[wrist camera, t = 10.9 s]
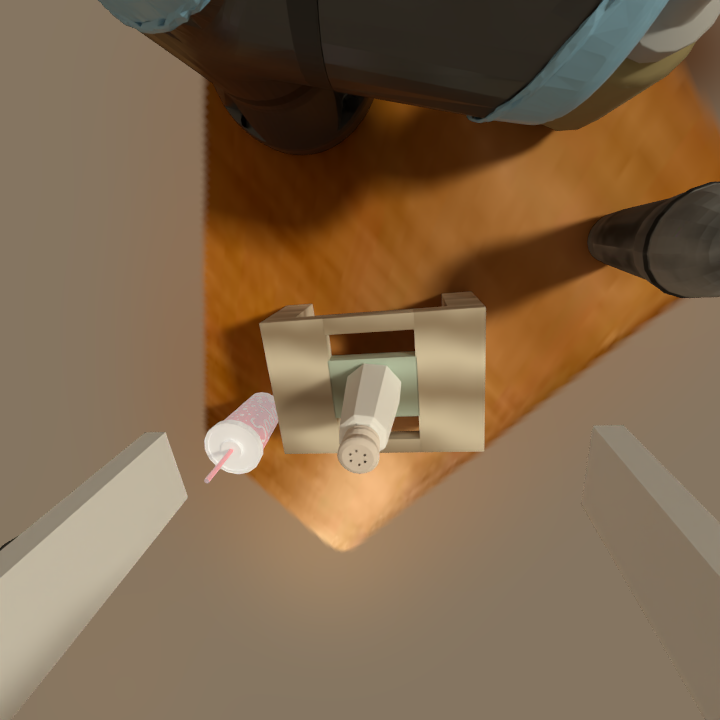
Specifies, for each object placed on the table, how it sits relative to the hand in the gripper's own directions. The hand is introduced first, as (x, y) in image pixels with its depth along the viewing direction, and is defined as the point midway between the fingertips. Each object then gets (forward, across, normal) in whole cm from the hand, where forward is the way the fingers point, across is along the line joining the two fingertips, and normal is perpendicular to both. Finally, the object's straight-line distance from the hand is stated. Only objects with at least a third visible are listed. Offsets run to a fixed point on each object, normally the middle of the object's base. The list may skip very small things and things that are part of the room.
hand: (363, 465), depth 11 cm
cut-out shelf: (+29, -3, -8) cm, 30 cm away
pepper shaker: (+21, -2, -8) cm, 23 cm away
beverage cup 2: (+30, +20, +3) cm, 36 cm away
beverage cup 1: (+29, -18, -14) cm, 37 cm away
